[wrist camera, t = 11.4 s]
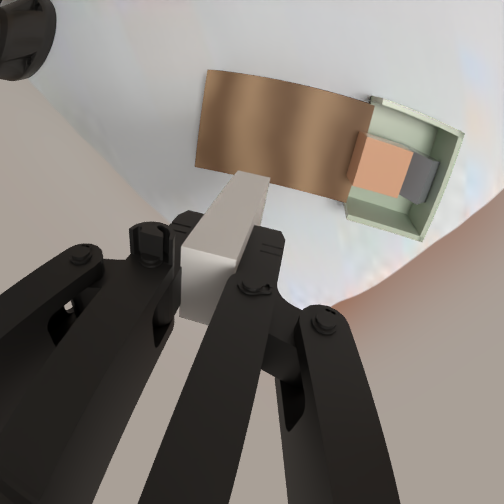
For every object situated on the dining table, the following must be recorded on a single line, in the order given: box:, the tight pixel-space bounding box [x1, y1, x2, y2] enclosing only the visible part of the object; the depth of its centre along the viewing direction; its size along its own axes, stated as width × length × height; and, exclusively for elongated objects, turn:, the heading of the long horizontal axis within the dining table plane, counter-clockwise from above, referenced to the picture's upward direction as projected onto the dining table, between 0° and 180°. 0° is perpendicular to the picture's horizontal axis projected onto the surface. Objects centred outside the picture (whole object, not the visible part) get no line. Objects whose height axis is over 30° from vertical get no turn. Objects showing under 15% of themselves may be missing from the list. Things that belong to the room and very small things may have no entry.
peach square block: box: [346, 131, 413, 198], centre depth 27 cm, size 5×5×3 cm
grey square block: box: [396, 142, 440, 205], centre depth 29 cm, size 5×5×3 cm
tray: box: [343, 96, 465, 242], centre depth 29 cm, size 9×13×6 cm
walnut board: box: [195, 70, 375, 203], centre depth 31 cm, size 17×11×4 cm, turn 80°
